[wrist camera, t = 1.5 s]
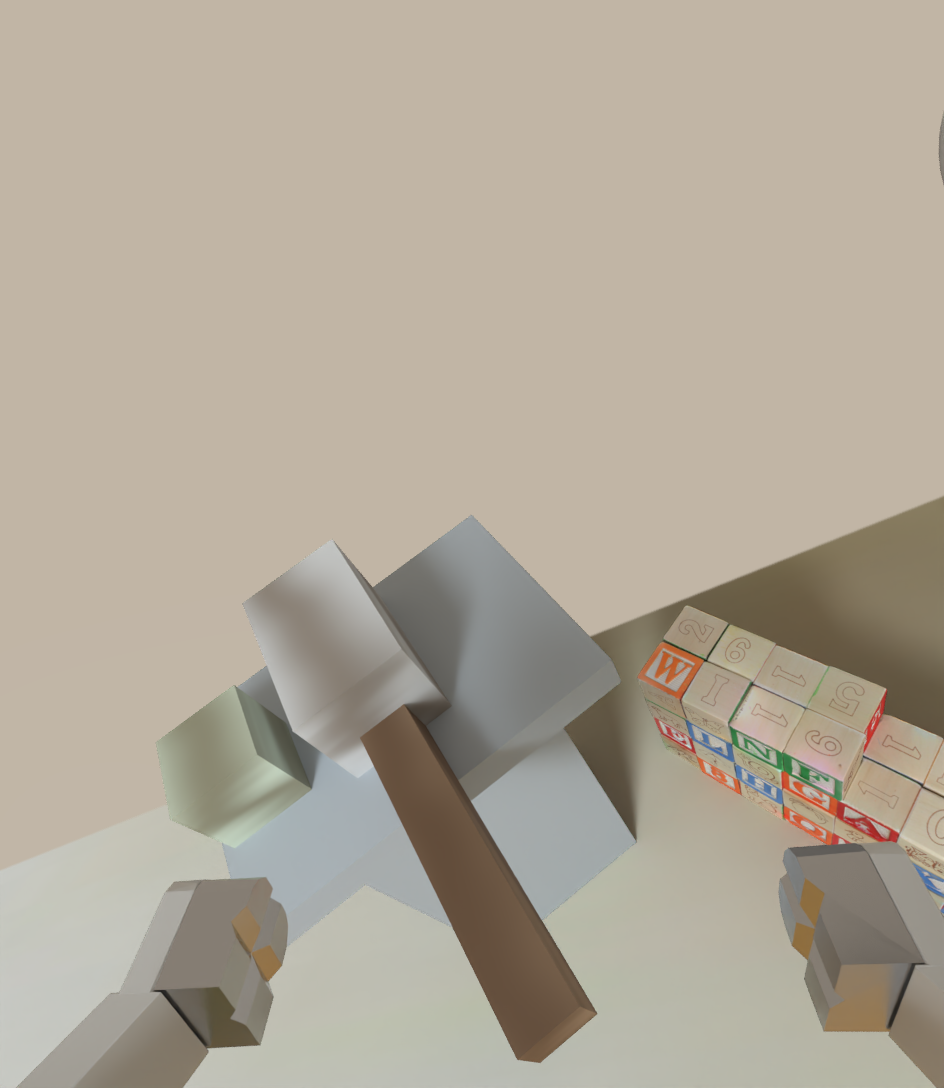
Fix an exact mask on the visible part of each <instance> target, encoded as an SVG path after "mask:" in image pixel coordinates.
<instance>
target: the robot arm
mask: <svg viewBox="0 0 944 1088" xmlns="http://www.w3.org/2000/svg"><path fill="white" fill-rule="evenodd" d="M939 161H940V171H941V175H942V179H943V183H944V112H943V117H942V122H941V127H940V137H939ZM783 863H784V866H785V868H786V871H787V874H786V875H785V876H783V877H782V878H781V879H780V885H779V899H780V907H781V913H782V916H783V920H784V924H785V927H786V930H787V933H788V936H789V939H790V941H791V944H792V946H793V947H794V948H795V949H796V950H797V951H798V952H799V953H800V954H801V955H802V956H803V957H805V958H806V959H807V960H808V963H807V968H806V973H805V978H804V980H805V983H806V985H807V988H808V991H809V993H810V996H811V999H812V1001H813V1004H814V1007H815V1009H816V1012H817V1015H818V1017H819V1020H820V1023H821V1025H822V1028H823V1031H824V1032H889V1035H888V1036H889V1037H890V1038H891V1039H892V1040H893V1041H894V1042H895V1043H896V1044H897V1045H898V1046H899V1048H900V1049H901V1050H902V1051H903V1052H904V1053H905V1054H906V1055H907V1056H908V1057H909V1058H910V1059H911V1061H912V1062H913V1063H914V1064H915V1065H916V1066H917V1067H918V1068H919V1069H920V1070H921V1071H922V1072H923V1073H924V1075H925V1076H926V1077H927V1078H928V1079H929V1080H930V1081H931V1082H932V1083H933V1084H934V1085H935V1086H936V1088H944V916H943V915H942V913H941V911H940V909H939V908H938V906H937V904H936V903H935V901H934V899H933V898H932V896H931V894H930V892H929V891H928V889H927V887H926V886H925V884H924V882H923V880H922V879H921V877H920V875H919V874H918V872H917V870H916V868H915V867H914V865H913V863H912V862H911V860H910V858H909V856H908V855H907V853H906V851H905V850H904V849H903V848H902V847H901V846H900V845H899V844H897V843H895V842H892V841H888V842H872V843H847V844H834V845H820V846H807V847H794V848H788V849H787V850H785V852H784V858H783ZM272 890H273V887H272V886H271V884H270V883H269V881H268V879H267V878H266V877H256V878H238V879H220V880H193V881H179V882H174V883H173V884H172V885H171V886H170V887H169V889H168V890H167V891H166V892H165V894H164V896H163V898H162V900H161V902H160V904H159V906H158V909H157V911H156V913H155V915H154V917H153V920H152V922H151V924H150V926H149V928H148V931H147V933H146V935H145V937H144V939H143V942H142V944H141V946H140V948H139V950H138V952H137V955H136V957H135V959H134V961H133V963H132V966H131V968H130V970H129V972H128V974H127V977H126V979H125V981H124V983H123V985H122V988H121V990H120V992H119V993H110V994H109V995H108V996H107V997H106V998H105V999H104V1000H103V1001H102V1002H101V1003H100V1004H99V1005H98V1006H97V1007H96V1008H95V1009H94V1010H93V1011H92V1012H91V1013H90V1014H89V1015H88V1016H87V1017H86V1018H85V1019H84V1020H83V1021H82V1022H81V1023H80V1024H79V1025H78V1026H77V1027H76V1028H75V1029H74V1030H73V1031H72V1032H71V1033H70V1034H69V1035H68V1036H67V1037H66V1038H65V1039H64V1040H63V1041H62V1042H61V1043H60V1044H59V1045H58V1046H57V1047H56V1048H55V1049H54V1050H53V1051H52V1052H51V1053H50V1054H49V1055H48V1056H47V1057H46V1058H45V1059H44V1060H43V1061H42V1062H41V1063H40V1064H39V1065H38V1066H37V1067H36V1068H35V1069H34V1070H33V1071H32V1072H31V1073H30V1074H29V1075H28V1076H27V1077H26V1078H25V1079H24V1080H23V1081H22V1082H21V1083H20V1084H19V1085H18V1086H17V1087H16V1088H183V1087H184V1085H185V1084H186V1083H187V1081H188V1080H189V1079H190V1077H191V1076H192V1074H193V1073H194V1072H195V1070H196V1069H197V1068H198V1066H199V1065H200V1063H201V1062H202V1061H203V1059H204V1058H205V1057H206V1055H207V1054H208V1050H207V1048H223V1047H241V1046H259V1045H261V1041H262V1037H263V1034H264V1030H265V1026H266V1023H267V1019H268V1015H269V1012H270V1008H271V1004H272V1001H273V994H272V991H271V988H270V985H269V982H268V981H269V980H270V979H271V978H272V977H273V976H274V974H275V973H276V972H277V971H278V970H279V969H280V967H281V966H282V963H283V959H284V955H285V951H286V947H287V937H288V922H287V916H286V912H285V910H284V908H283V906H282V904H281V903H279V902H277V901H275V900H274V899H272V898H270V897H271V893H272Z"/></svg>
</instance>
